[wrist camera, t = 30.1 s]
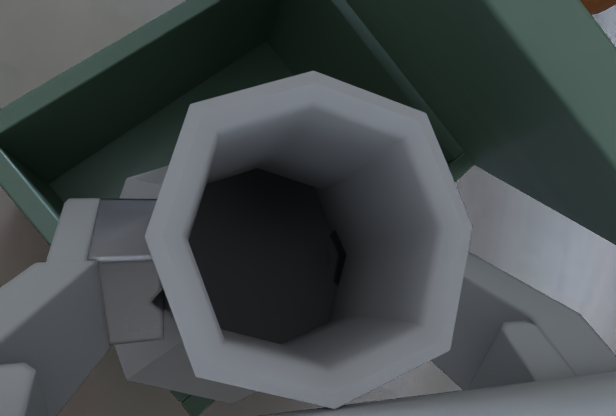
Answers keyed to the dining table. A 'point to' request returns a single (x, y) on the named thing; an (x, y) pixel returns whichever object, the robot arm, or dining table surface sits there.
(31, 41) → the dining table surface
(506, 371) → the robot arm
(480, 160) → the chest lid
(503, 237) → the dining table surface
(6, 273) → the dining table surface
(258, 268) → the flask
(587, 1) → the bread
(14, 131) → the chest
